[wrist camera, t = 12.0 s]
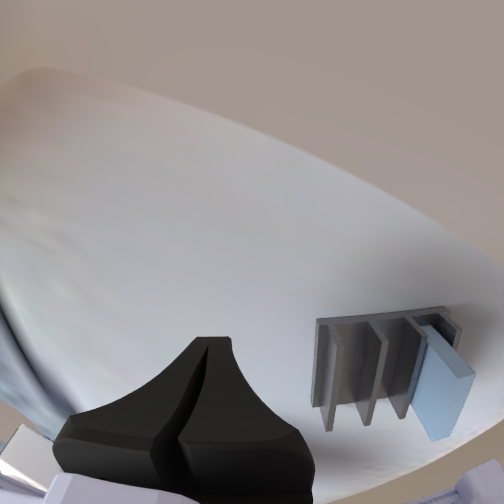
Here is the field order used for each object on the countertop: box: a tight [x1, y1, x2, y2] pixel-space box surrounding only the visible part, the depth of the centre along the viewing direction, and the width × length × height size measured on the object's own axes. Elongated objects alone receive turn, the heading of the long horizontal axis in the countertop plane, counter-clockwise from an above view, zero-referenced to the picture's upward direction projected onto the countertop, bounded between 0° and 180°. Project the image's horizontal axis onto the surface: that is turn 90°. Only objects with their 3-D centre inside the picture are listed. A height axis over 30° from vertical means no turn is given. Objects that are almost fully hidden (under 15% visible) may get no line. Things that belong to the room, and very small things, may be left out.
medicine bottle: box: [0, 424, 64, 492], centre depth 23 cm, size 7×7×12 cm
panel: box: [410, 325, 476, 442], centre depth 20 cm, size 6×2×7 cm, turn 2°
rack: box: [311, 306, 462, 432], centre depth 22 cm, size 8×11×4 cm
